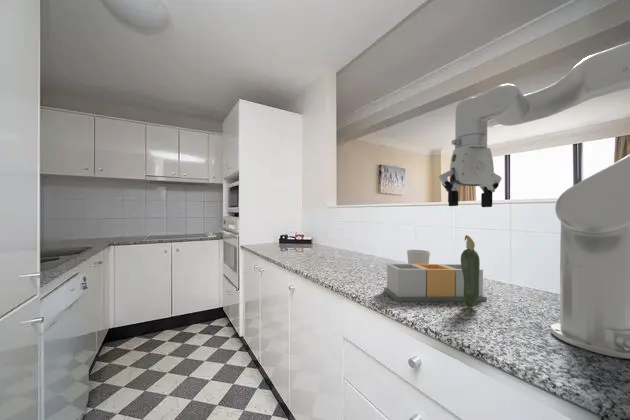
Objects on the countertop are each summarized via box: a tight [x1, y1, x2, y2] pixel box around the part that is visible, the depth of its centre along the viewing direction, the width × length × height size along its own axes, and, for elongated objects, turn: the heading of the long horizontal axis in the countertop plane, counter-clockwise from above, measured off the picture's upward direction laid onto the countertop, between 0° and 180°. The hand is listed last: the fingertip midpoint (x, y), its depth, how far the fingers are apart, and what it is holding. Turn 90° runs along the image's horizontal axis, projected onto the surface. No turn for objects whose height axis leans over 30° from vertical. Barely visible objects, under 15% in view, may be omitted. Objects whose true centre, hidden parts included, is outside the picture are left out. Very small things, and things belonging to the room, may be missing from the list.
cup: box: [406, 249, 431, 264], centre depth 92 cm, size 8×8×12 cm
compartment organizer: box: [383, 263, 488, 303], centre depth 77 cm, size 10×28×9 cm, turn 95°
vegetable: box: [460, 234, 481, 310], centre depth 67 cm, size 4×4×20 cm
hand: (470, 206), depth 67 cm, fingers open, 9 cm apart
